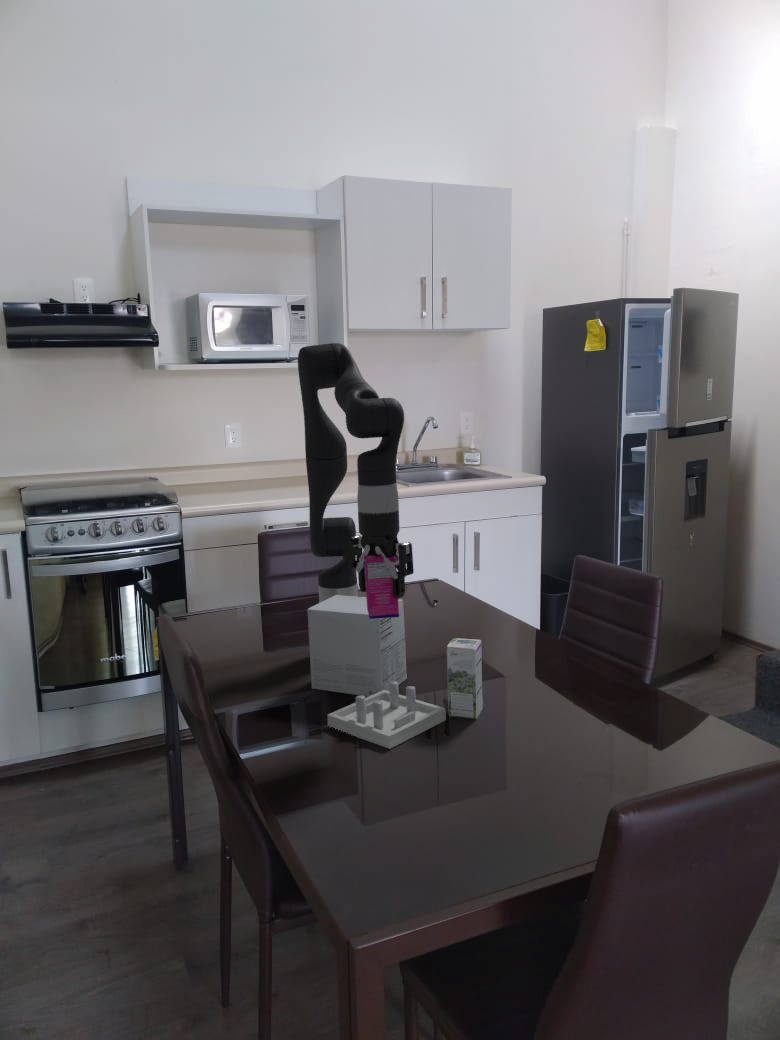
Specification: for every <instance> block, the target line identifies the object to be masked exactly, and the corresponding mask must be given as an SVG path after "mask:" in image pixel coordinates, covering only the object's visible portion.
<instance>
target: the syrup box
mask: <svg viewBox="0 0 780 1040" xmlns="http://www.w3.org/2000/svg"><path fill="white" fill-rule="evenodd" d="M482 652H483V651H482V640H481V639H473V638H472V639H470V638H459V637H458V638H457V637H454V638H452V639H451V640H450V641H449V643H448V644H447V645H446V667H447V671H446V672H447V699H448V702H447V704H448V717H450V718H461V719H470V720H477V719H478V717H479V716H480V714H481V713H482V711H483V709H484V708H483V707H484V702H483V676H482V675H483V673H482V672H483V671H482V669H483V666H482V664H483V663H482V662H483V661H482V657H483V656H482V655H483V654H482Z"/></svg>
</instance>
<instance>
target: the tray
mask: <svg viewBox="0 0 780 1040" xmlns="http://www.w3.org/2000/svg"><path fill="white" fill-rule="evenodd" d="M446 711H447V710H446V707H442V706H439V705H436V704H432V703H429V702H426V701H423V700H419V699H416V686H412V685H411V686H410V685H409V686H406V687H405V695H402V694H400V693H399V685H398V682H396V681H392V682H389V691H386V690H383V691H380V692H378V693H376V694H374V695H371V696H369V697H367V696H362V695H361V696H360V695H356V696H355V702H353V703H351V704H349V705H346V706H344V707H341V708H339V709H337V710H335V711H333V712H330V713H328V714H327V715H326V716H327V727H328V726H330V727H329V728H331V727H333V728H335V729H334V730H336V729H338V730H337V731H339V730H341V731H340V732H342V731H343V732H342V733H344V732H346V733H345V734H347V733H348V735H350V734H351V736H353V737H355V736H356V738H358V739H362V740H364V741H367V742H370V743H373V744H375V745H378V746H380V747H384V748H386V749H394V748H395V747H397V746H399V745H400V744H402V743H405V742H406V741H408V740H411V739H412V738H415V737H416V736H418V735H420V734H421V733H424V732H426V731H428V730H429V729H431V728H432V729H433V728H434V727H435V726H438V725H439V724H441V723H443V722H445V721H446V720H447V719H446V718H447V716H446ZM333 728H332V729H333Z"/></svg>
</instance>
